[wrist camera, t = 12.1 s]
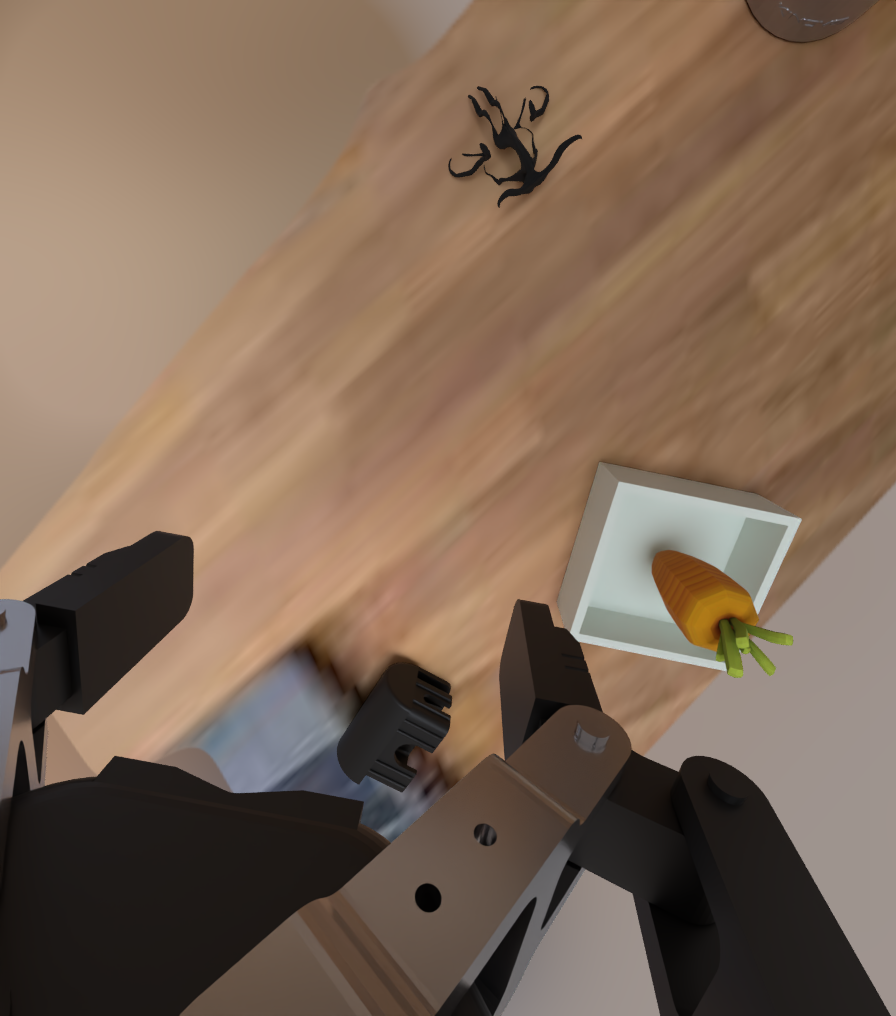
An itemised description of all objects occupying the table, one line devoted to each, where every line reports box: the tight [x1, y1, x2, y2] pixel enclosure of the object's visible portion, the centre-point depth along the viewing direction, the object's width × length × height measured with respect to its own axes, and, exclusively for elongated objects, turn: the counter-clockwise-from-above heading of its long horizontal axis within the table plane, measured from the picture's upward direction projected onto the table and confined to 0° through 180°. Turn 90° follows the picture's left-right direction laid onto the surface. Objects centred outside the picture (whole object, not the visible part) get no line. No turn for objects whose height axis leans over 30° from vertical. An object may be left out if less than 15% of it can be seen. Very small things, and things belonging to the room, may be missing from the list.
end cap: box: [337, 663, 452, 792], centre depth 47 cm, size 10×7×7 cm
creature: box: [448, 86, 582, 208], centre depth 32 cm, size 8×5×8 cm
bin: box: [557, 462, 802, 671], centre depth 41 cm, size 13×13×6 cm
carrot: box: [652, 550, 793, 678], centre depth 35 cm, size 5×5×15 cm
